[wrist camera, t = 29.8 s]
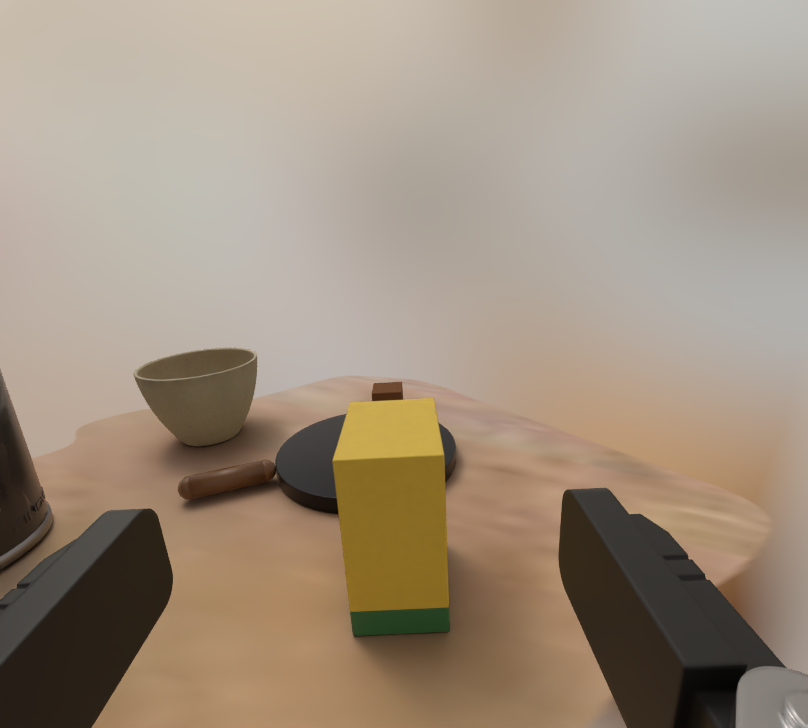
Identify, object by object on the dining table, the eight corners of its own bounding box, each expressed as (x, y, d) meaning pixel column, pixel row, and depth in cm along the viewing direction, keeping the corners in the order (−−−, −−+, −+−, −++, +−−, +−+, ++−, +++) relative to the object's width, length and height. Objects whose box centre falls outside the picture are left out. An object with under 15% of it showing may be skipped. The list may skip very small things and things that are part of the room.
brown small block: (373, 411, 44) (371, 393, 43) (375, 400, 47) (373, 383, 46) (403, 410, 44) (401, 391, 43) (403, 399, 47) (402, 381, 46)
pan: (166, 571, 24) (159, 544, 24) (190, 457, 37) (186, 437, 36) (490, 483, 31) (490, 460, 30) (416, 411, 43) (415, 394, 43)
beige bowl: (275, 442, 39) (263, 365, 36) (147, 473, 35) (125, 388, 33) (261, 405, 47) (250, 341, 45) (157, 426, 44) (140, 357, 41)
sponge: (352, 636, 20) (331, 460, 17) (363, 545, 26) (349, 402, 23) (450, 632, 20) (444, 454, 17) (439, 541, 25) (433, 397, 23)
